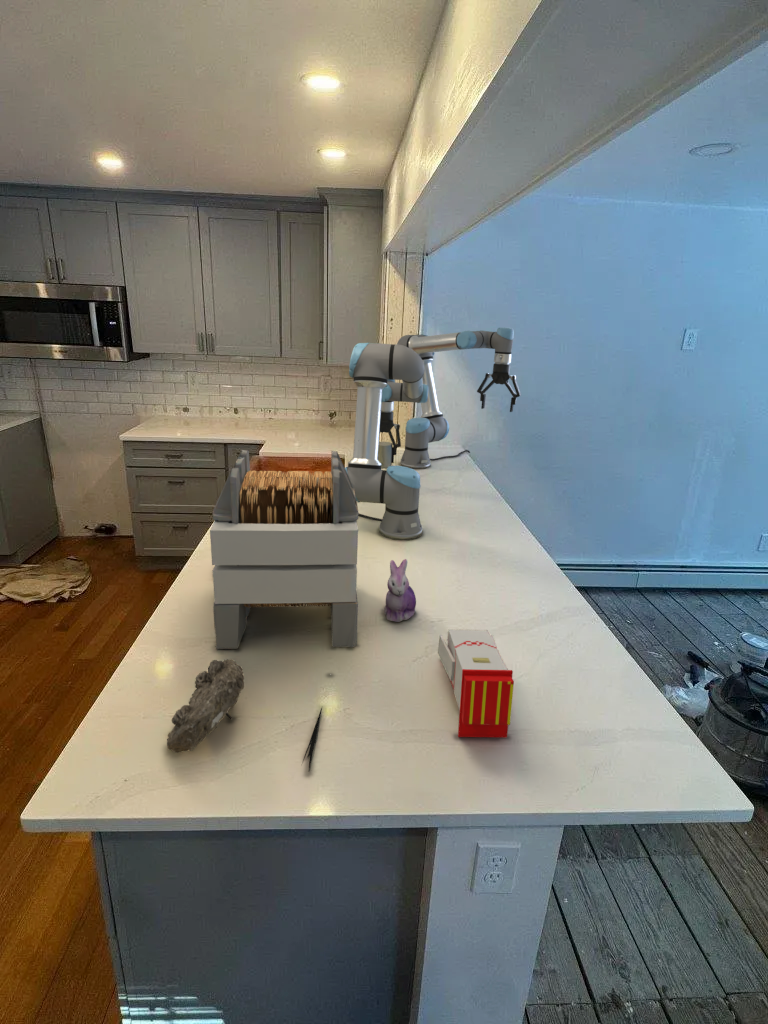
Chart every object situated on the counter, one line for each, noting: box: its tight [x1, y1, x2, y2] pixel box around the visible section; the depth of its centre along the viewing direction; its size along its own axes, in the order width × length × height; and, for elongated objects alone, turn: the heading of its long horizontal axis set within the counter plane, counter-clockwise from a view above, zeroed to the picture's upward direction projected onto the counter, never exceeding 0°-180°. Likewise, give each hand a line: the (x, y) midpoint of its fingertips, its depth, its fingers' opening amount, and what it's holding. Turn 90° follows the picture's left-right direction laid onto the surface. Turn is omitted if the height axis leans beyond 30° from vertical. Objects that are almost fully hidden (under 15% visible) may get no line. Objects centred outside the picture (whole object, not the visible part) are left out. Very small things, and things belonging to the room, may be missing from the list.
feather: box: [301, 673, 332, 771], centre depth 108 cm, size 2×28×2 cm
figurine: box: [384, 558, 417, 623], centre depth 145 cm, size 9×10×15 cm
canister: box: [378, 441, 393, 470], centre depth 251 cm, size 8×8×10 cm
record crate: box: [209, 449, 360, 651], centre depth 139 cm, size 34×33×41 cm
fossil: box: [166, 658, 245, 754], centre depth 106 cm, size 22×10×15 cm
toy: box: [437, 628, 515, 738], centre depth 117 cm, size 12×13×30 cm
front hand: (382, 461), depth 252 cm, fingers closed on canister, 8 cm apart
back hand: (496, 410), depth 265 cm, fingers open, 13 cm apart
